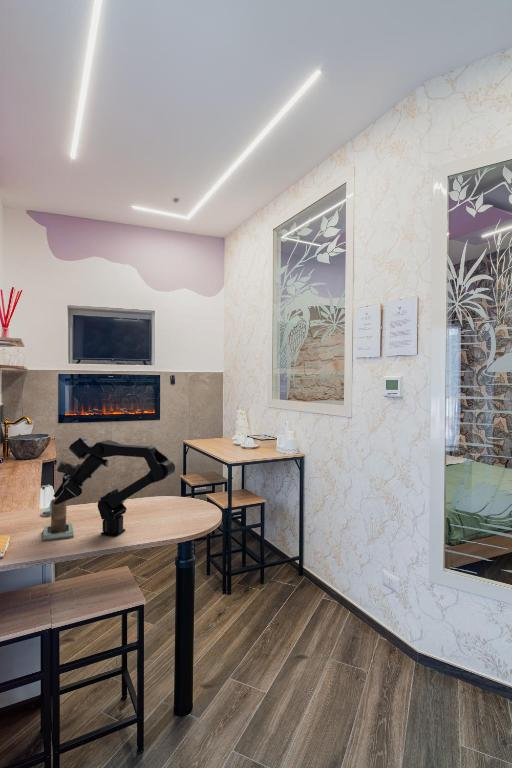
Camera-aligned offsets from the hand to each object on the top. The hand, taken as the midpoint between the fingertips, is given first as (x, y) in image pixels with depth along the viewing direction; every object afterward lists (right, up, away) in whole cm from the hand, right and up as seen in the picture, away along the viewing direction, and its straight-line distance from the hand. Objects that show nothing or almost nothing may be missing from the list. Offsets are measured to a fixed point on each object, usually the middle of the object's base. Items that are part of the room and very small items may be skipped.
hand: (54, 500), depth 155 cm
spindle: (+1, -12, +1) cm, 12 cm away
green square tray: (+1, -13, +1) cm, 13 cm away
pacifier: (-13, -12, +22) cm, 28 cm away
